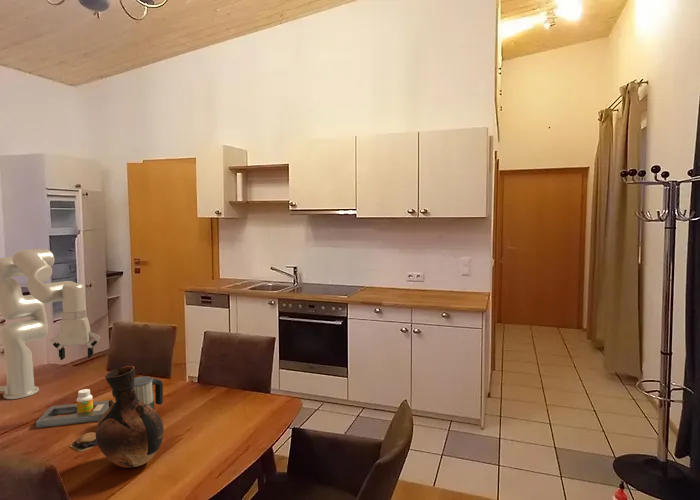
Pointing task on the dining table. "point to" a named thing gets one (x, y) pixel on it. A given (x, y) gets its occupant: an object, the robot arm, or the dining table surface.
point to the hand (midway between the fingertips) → (76, 358)
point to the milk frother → (148, 390)
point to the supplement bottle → (84, 401)
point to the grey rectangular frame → (71, 415)
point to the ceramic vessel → (128, 423)
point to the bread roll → (85, 442)
